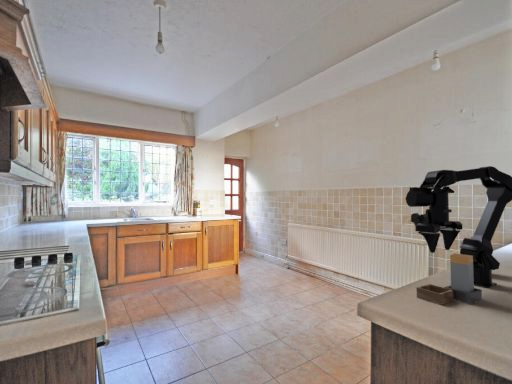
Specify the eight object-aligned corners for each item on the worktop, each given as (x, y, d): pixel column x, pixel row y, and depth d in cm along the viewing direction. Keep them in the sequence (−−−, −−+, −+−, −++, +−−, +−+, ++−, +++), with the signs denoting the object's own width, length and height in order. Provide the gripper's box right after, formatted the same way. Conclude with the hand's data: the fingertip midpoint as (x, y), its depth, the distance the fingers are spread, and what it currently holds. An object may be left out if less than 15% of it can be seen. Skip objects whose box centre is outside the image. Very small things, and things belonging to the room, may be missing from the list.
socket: (456, 292, 86) (455, 283, 86) (482, 299, 80) (481, 289, 80) (444, 296, 83) (443, 287, 83) (470, 304, 77) (470, 294, 77)
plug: (456, 294, 85) (455, 253, 85) (474, 298, 81) (472, 255, 82) (451, 298, 82) (450, 255, 82) (469, 302, 79) (468, 257, 79)
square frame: (429, 293, 86) (429, 283, 86) (453, 300, 80) (453, 290, 80) (416, 297, 83) (416, 287, 83) (440, 304, 77) (440, 294, 77)
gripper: (429, 205, 105) (431, 245, 105) (400, 206, 96) (401, 250, 96) (462, 205, 95) (463, 249, 95) (432, 207, 87) (434, 256, 86)
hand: (439, 251), depth 93 cm, fingers open, 9 cm apart
